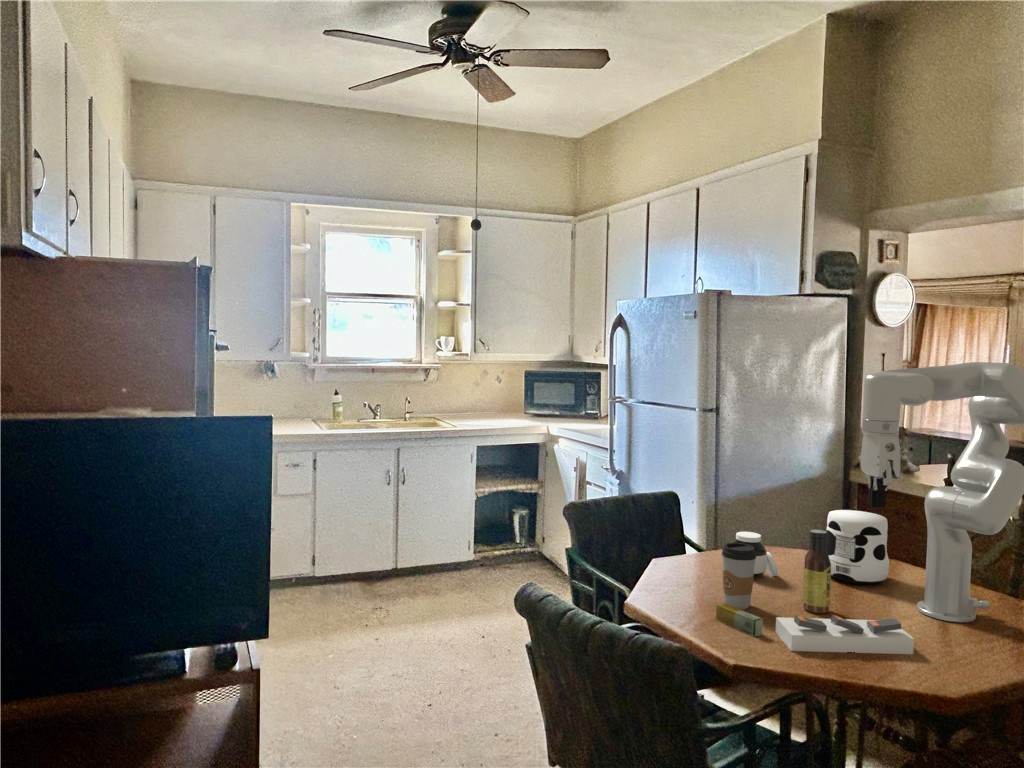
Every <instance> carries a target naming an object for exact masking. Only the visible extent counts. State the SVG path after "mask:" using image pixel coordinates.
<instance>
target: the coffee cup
mask: <svg viewBox="0 0 1024 768" xmlns="http://www.w3.org/2000/svg"><path fill="white" fill-rule="evenodd" d="M721 556H722V588H723V589H722V590H723V603H725V604H727V605H730V606H732V607H735V608H737V609H740V610H746V608H747V609H748V607H750V606H751V601H752V593H753V587H754V579H755V578H754V565H755V559H756V552H755V551H754V547H753V546H751V545H748V544H743V543H733V542H727V543H724V545H723V548H722V549H721Z"/></svg>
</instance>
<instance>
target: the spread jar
mask: <svg viewBox="0 0 1024 768" xmlns="http://www.w3.org/2000/svg"><path fill="white" fill-rule="evenodd" d="M761 541H762V535H761V534H760V533H756V532H752V531H738V532H736V534H735V539H734V540H733V542H732V543H743V544H748V545H751V546H753V547H754V551H755V552H756V559H755V565H754V578H753V579H758V578H760V577H761V576H763V575H764V574H765V573H766V571H767V572H768V574H769V575H770V576H771V577H775V576H776V577H777V576H778V575H779V568H778V565H777V562H776V560H775V558H774V556H773V555H772V554H771V553H770V552H769V551H767V549H766V547H765V546H764V544H763V542H761Z"/></svg>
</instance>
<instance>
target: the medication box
mask: <svg viewBox="0 0 1024 768" xmlns="http://www.w3.org/2000/svg"><path fill="white" fill-rule="evenodd" d="M715 609H716V610H715V620H716V619H717V620H716V621H718V620H719V621H718V622H720V621H721V623H722V622H723V624H725V623H726V624H725V625H727V624H728V625H727V626H729V625H730V626H729V627H731V626H732V627H731V628H733V627H735V628H734V629H736V630H738V629H739V630H738V631H740V630H742V631H744V632H743V633H745V632H746V633H745V634H747V633H748V634H747V635H749V634H751V635H753V636H752V637H754V636H757V637H759V636H758V635H761V636H762V635H763V622H764V618H762V617H760V616H757V615H755V614H752V613H750V612H748V611H744V610H743V609H737V608H735V607H732V606H730V605H727V604H725V602H722V603H717V604H716V608H715ZM742 631H741V632H742ZM751 635H750V636H751Z"/></svg>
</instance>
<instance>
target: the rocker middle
mask: <svg viewBox="0 0 1024 768" xmlns="http://www.w3.org/2000/svg"><path fill="white" fill-rule="evenodd" d="M829 619H830V620H831V621H832V622H834V623H835V624H836V625H838V626H840V627H843V628H846V629H848V630H851V631H854V632H856V633H859V634H862V633H863V631H864V629H863V628H862V627H861V626H859V625H858V624H856V623H854V622H851V621H848V620H845V619H846V618H843V617H841V616H838V615H835V614H831V617H830V618H829Z"/></svg>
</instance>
